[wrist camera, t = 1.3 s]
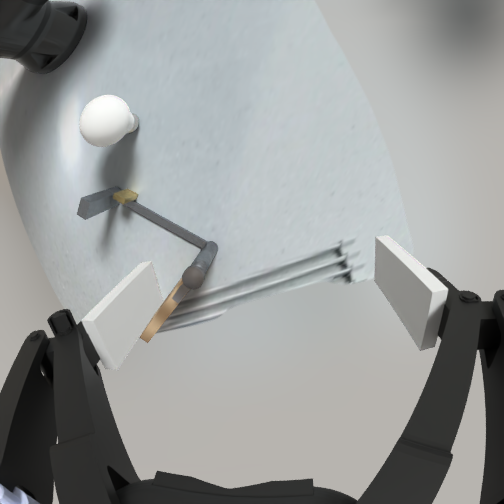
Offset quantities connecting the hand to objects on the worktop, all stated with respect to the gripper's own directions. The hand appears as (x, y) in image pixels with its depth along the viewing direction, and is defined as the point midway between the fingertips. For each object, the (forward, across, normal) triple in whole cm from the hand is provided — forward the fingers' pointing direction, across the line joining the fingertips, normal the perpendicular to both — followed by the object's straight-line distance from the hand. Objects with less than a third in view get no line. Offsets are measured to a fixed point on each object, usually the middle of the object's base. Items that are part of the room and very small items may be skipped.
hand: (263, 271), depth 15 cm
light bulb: (+23, -18, +15) cm, 32 cm away
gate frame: (+23, -16, 0) cm, 28 cm away
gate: (+22, -14, -10) cm, 28 cm away
